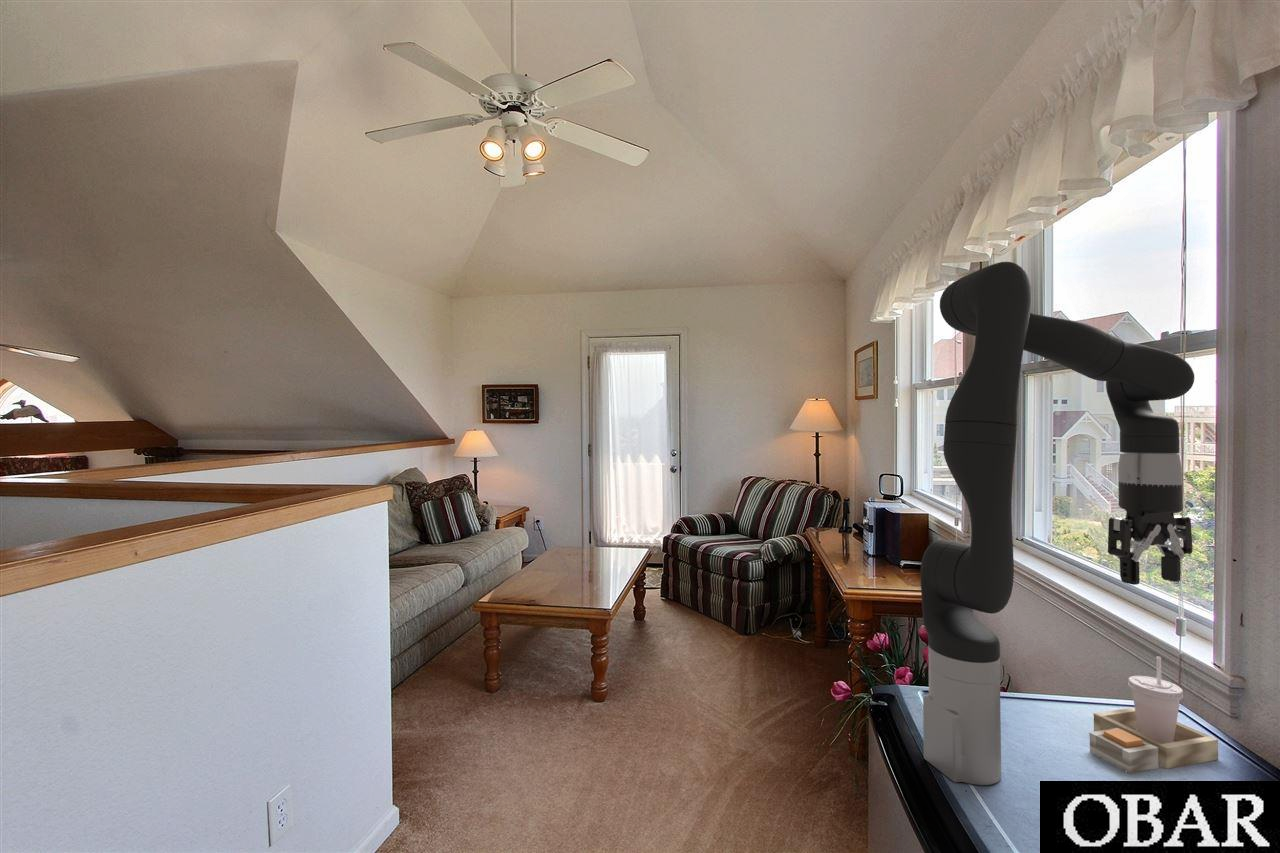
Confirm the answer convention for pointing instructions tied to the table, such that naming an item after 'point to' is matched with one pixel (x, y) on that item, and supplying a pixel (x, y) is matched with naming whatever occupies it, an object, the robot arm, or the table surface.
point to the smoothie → (1156, 705)
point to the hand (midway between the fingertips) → (1150, 582)
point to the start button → (1123, 738)
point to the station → (1149, 744)
